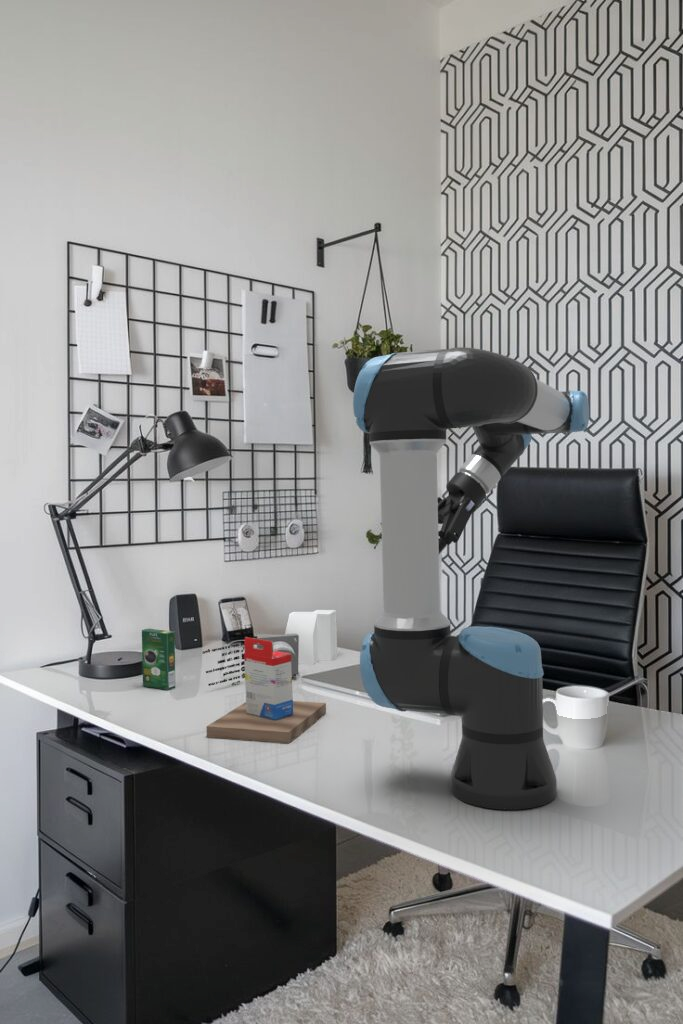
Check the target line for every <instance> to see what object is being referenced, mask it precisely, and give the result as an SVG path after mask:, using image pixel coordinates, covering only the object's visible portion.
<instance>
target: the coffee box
mask: <svg viewBox="0 0 683 1024" xmlns="http://www.w3.org/2000/svg"><path fill="white" fill-rule="evenodd" d="M175 636H176V635H175V631H172V630H162V629H156V628H155V629H154V628H145V629H141V653H142V657H141V660H142V687H145V688H152V689H160V690H165V691H170V690H173V689H175V688H176V646H175V645H176V640H175V639H176V638H175Z"/></svg>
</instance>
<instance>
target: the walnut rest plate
mask: <svg viewBox="0 0 683 1024" xmlns="http://www.w3.org/2000/svg"><path fill="white" fill-rule="evenodd" d="M326 713H327V703H326V702H317V701H316V702H315V701H299V700H298V701H297V700H293V715H290V716H287V717H283V718H280V719H277V720H273V719H269V718H265V717H261V716H257V715H253V714H249V713H247V712H246V701H245V702H244V703H242V704H240V705H239V706H237V707H235V708H234V709H232V710H230V711H229V712H227V713H226V714H224V715H223V716H220V717H219V718H217V719H216V720H214V721H213V722H211V723H209V724H207V726H206V738H211V739H212V738H213V739H223V740H225V739H226V740H228V739H229V740H236V739H239V740H240V739H241V741H250V740H254V742H263V741H267V742H266V743H276V742H281V743H280V744H290V743H291V741H292V740H293V741H294V740H295V739H296V738H298V737H300V736H301V734H302V733H304V732H305V731H307V730H308V728H310V727H311V726H312V725H314V724H315V723H316V722H317V721H318V720H320V719H321V718H322V717H323V716H324V715H326ZM268 741H269V742H268ZM293 741H292V742H293Z"/></svg>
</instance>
